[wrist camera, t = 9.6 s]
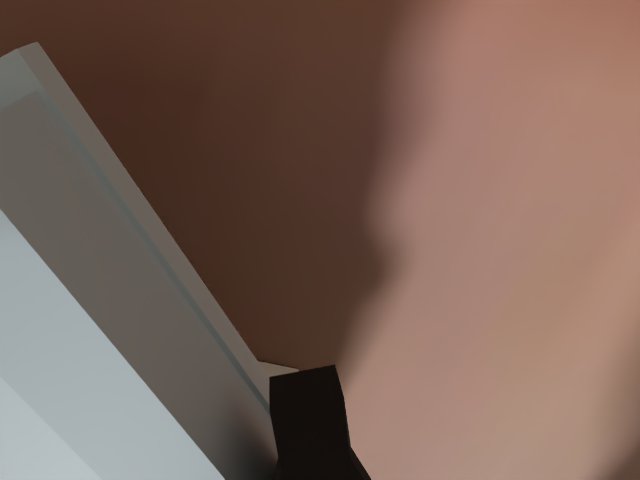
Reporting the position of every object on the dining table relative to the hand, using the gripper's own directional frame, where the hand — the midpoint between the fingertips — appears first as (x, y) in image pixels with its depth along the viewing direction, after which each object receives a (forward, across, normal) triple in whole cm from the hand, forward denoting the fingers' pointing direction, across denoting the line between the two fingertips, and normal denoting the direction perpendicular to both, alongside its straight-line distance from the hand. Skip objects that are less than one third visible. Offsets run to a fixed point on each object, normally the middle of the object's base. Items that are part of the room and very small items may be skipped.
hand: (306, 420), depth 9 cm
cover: (+2, +3, 0) cm, 4 cm away
